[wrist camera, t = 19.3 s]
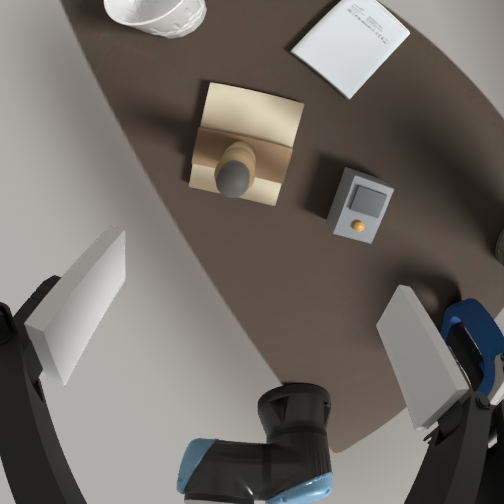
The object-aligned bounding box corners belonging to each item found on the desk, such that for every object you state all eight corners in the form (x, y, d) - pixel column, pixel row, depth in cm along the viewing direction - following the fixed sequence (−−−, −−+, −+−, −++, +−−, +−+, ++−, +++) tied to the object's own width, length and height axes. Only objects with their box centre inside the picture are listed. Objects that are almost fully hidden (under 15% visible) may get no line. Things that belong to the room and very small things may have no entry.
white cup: (218, 32, 25) (201, 6, 16) (150, 52, 25) (109, 39, 17) (205, -23, 21) (185, -61, 12) (139, -2, 22) (99, -27, 13)
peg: (251, 173, 30) (248, 207, 22) (222, 166, 30) (206, 197, 21) (259, 145, 29) (259, 166, 20) (229, 137, 29) (215, 156, 20)
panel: (274, 202, 34) (275, 209, 32) (191, 183, 33) (186, 189, 31) (302, 103, 29) (305, 104, 27) (212, 82, 28) (208, 81, 26)
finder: (361, 229, 36) (372, 245, 32) (326, 219, 35) (333, 235, 32) (380, 179, 33) (395, 190, 29) (344, 166, 32) (356, 176, 28)
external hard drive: (289, 52, 26) (353, -12, 21) (346, 99, 29) (405, 35, 23) (290, 50, 25) (358, -16, 20) (350, 99, 27) (411, 33, 22)
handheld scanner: (433, 351, 48) (470, 429, 31) (446, 290, 40) (505, 378, 23) (451, 344, 47) (490, 418, 30) (466, 283, 40) (527, 364, 23)
